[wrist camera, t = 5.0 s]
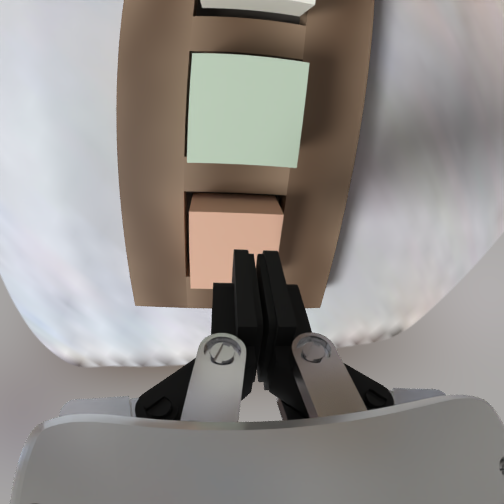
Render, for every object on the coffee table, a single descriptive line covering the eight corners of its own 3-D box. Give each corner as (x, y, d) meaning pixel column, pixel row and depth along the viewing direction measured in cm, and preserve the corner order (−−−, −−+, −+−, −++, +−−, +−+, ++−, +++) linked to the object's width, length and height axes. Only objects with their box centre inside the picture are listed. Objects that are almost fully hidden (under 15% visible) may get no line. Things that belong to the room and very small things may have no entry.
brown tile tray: (362, -58, 9) (375, -68, 8) (313, 291, 21) (320, 307, 20) (150, -79, 8) (144, -93, 6) (140, 288, 20) (135, 305, 18)
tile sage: (294, 65, 12) (309, 62, 10) (284, 154, 14) (296, 168, 12) (197, 58, 11) (192, 53, 9) (192, 149, 14) (187, 162, 12)
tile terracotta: (275, 195, 17) (283, 214, 14) (266, 264, 19) (272, 289, 17) (193, 192, 16) (188, 211, 14) (193, 262, 18) (190, 288, 16)
